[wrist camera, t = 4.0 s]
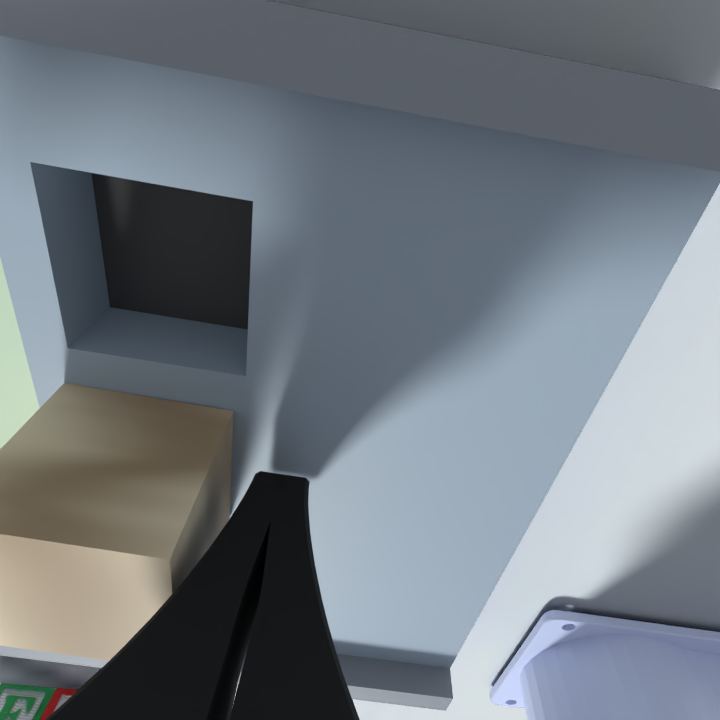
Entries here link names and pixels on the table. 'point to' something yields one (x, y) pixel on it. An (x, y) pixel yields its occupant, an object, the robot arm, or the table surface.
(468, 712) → the table surface
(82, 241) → the box
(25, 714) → the stack of blocks
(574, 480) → the table surface
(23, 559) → the maple block
